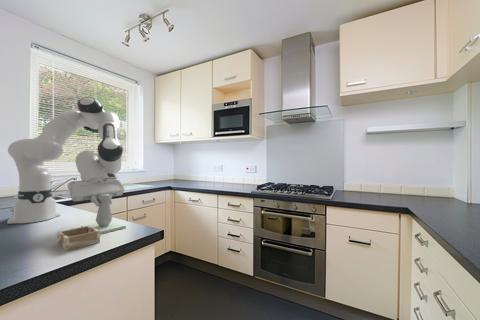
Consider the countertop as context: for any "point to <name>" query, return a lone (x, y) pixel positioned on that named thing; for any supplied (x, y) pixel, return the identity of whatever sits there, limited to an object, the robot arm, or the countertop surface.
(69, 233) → the wooden box
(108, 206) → the salt shaker
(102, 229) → the sage mat
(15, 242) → the countertop surface
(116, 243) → the countertop surface
